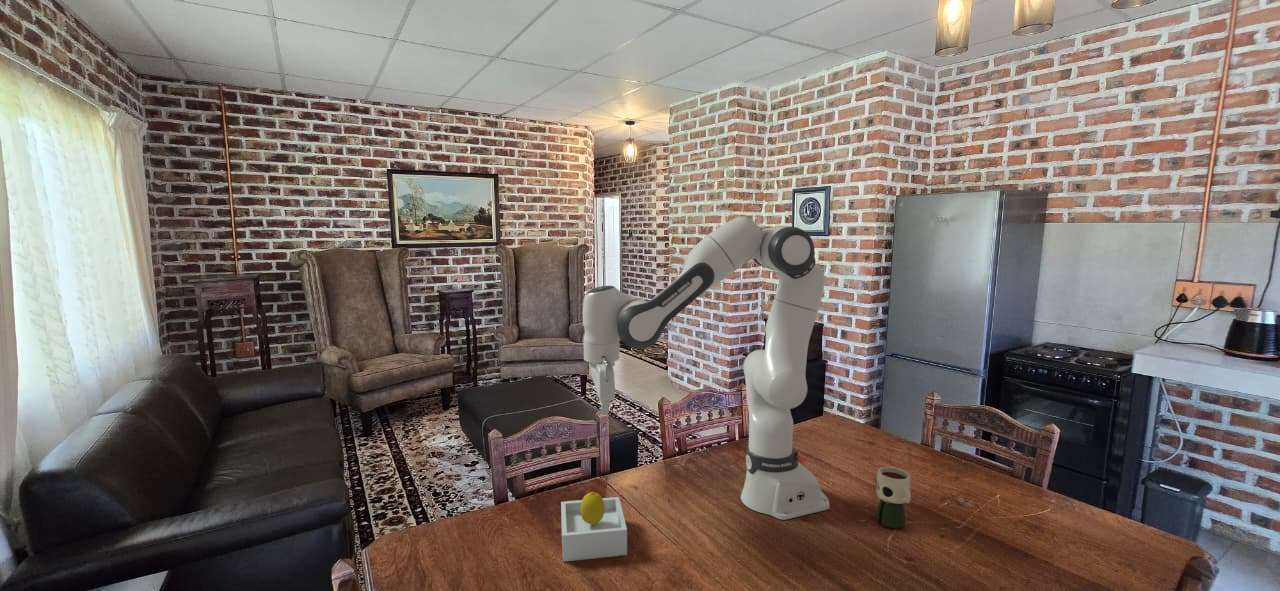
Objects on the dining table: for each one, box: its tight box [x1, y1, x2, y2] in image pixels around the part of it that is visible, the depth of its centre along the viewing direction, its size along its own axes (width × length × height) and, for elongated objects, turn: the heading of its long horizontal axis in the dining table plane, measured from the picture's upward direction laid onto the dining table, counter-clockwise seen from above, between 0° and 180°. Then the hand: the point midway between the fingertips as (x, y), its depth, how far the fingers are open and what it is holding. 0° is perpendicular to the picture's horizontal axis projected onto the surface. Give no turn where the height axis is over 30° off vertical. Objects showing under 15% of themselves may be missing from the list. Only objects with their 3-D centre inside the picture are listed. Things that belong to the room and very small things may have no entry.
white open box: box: [560, 496, 628, 563], centre depth 120 cm, size 14×14×6 cm
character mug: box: [875, 466, 912, 529], centre depth 126 cm, size 11×7×13 cm, turn 14°
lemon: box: [580, 491, 605, 525], centre depth 120 cm, size 6×6×8 cm
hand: (602, 406), depth 130 cm, fingers open, 8 cm apart
